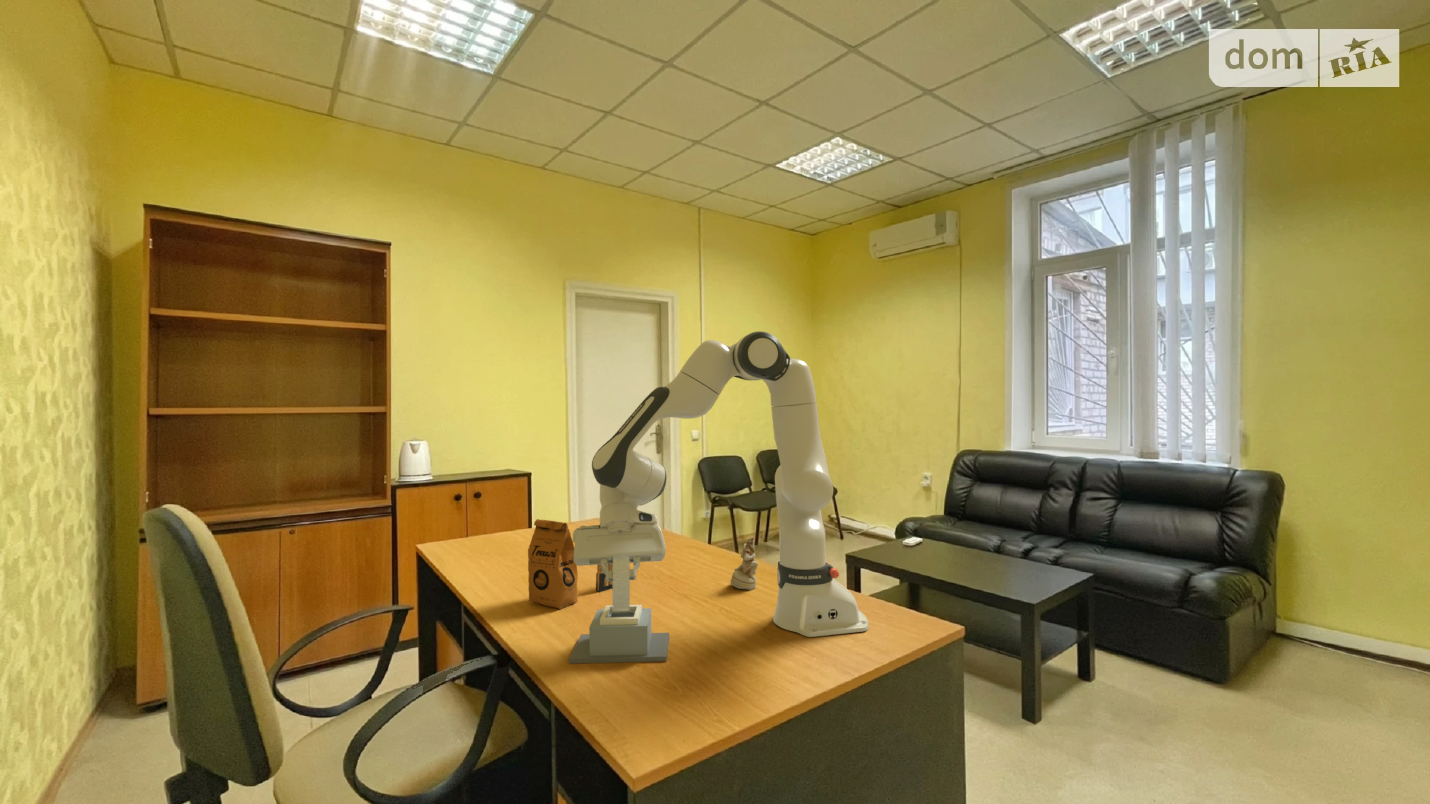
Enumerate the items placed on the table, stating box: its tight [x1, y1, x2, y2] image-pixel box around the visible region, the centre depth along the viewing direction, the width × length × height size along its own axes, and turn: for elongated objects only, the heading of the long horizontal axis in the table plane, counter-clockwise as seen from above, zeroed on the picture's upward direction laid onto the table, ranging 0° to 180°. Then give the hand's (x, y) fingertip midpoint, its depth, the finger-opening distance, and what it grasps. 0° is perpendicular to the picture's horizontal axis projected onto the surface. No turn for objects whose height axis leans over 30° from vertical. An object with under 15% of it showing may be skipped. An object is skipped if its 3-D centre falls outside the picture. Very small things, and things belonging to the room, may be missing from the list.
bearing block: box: [568, 607, 670, 664], centre depth 123 cm, size 20×12×7 cm, turn 92°
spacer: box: [600, 604, 643, 625], centre depth 123 cm, size 8×8×1 cm
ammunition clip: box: [595, 564, 612, 593], centre depth 164 cm, size 11×2×12 cm, turn 137°
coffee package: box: [527, 518, 579, 610], centre depth 152 cm, size 10×12×22 cm
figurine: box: [730, 537, 759, 591], centre depth 164 cm, size 7×7×15 cm
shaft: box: [612, 555, 631, 611], centre depth 123 cm, size 4×4×11 cm
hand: (621, 579), depth 122 cm, fingers closed on shaft, 3 cm apart
